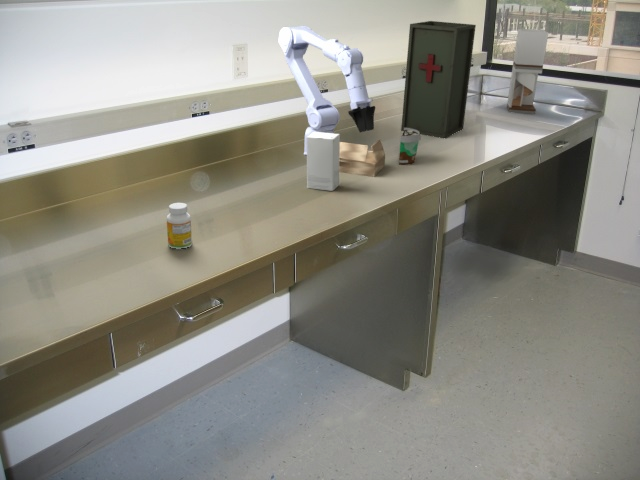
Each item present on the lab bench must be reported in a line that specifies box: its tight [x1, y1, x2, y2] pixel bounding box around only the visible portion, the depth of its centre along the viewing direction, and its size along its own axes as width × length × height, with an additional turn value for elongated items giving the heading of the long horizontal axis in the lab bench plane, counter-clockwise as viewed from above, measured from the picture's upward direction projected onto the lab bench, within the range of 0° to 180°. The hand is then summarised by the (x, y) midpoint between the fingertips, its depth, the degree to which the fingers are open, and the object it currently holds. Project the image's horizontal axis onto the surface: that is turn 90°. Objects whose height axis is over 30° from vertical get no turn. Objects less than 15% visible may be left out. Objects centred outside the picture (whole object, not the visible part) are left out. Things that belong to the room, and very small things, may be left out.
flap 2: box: [370, 139, 386, 162], centre depth 204 cm, size 1×9×5 cm, turn 158°
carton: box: [339, 150, 386, 178], centre depth 210 cm, size 16×15×4 cm
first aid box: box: [400, 20, 477, 139], centre depth 251 cm, size 18×18×40 cm
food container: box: [398, 128, 422, 166], centre depth 216 cm, size 12×6×10 cm, turn 168°
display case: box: [506, 28, 550, 115], centre depth 291 cm, size 11×11×35 cm
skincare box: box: [306, 132, 341, 192], centre depth 188 cm, size 8×7×16 cm
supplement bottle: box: [166, 202, 193, 250], centre depth 148 cm, size 5×5×10 cm
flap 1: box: [339, 141, 369, 162], centre depth 202 cm, size 10×1×5 cm, turn 69°
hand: (366, 131), depth 206 cm, fingers open, 7 cm apart
